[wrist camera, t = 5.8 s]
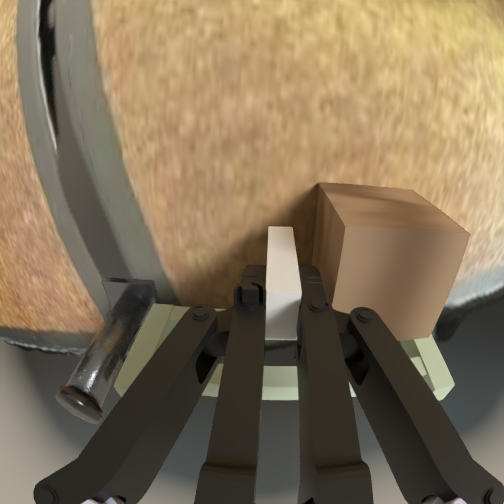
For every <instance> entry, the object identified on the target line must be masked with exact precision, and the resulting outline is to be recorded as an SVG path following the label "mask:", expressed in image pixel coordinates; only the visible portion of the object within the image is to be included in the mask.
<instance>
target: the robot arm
mask: <svg viewBox="0 0 504 504" xmlns="http://www.w3.org/2000/svg"><path fill="white" fill-rule="evenodd" d="M296 334H297V344H296V351H295V357H294V358H295V359H297V377H298V400H299V435H300V486H299V491H298V504H374V503H373V493H372V483H371V474H370V470H369V467H368V465H367V464H366V463H365V462H363V461H362V459H361V455H360V447H359V440H358V433H357V427H356V420H355V414H354V408H353V402H352V396H351V391H350V385H349V382H350V384H351V386H352V388H353V390H354V392H355V394H356V397H357V399H358V400H359V403H360V405H361V407H362V409H363V411H364V413H365V415H366V417H367V419H368V421H369V423H370V425H371V427H372V430H373V432H374V434H375V436H376V438H377V440H378V442H379V444H380V447H381V448H382V451H383V453H384V455H385V457H386V460H387V462H388V464H389V466H390V468H391V471H392V473H393V475H394V477H395V479H396V482H397V484H398V486H399V488H400V490H401V492H402V494H403V496H404V498H405V500H406V501H407V502H408V504H503V502H504V486H503V484H502V483H501V482H500V481H498V480H497V479H496V478H495V477H494V476H492V475H491V474H490V473H489V472H487V471H486V470H485V469H484V468H483V467H482V466H480V465H479V464H478V463H477V462H475V461H474V460H473V459H472V457H471V456H470V454H469V452H468V450H467V449H466V447H465V445H464V443H463V441H462V439H461V438H460V436H459V434H458V433H457V431H456V429H455V427H454V426H453V424H452V422H451V421H450V419H449V418H448V416H447V414H446V413H445V411H444V409H443V408H442V406H441V405H440V403H439V402H438V400H437V398H436V397H435V395H434V394H433V392H432V390H431V389H430V387H429V386H428V384H427V383H426V381H425V380H424V378H423V377H422V375H421V374H420V372H419V371H418V369H417V368H416V367H415V365H414V364H413V362H412V361H411V359H410V358H409V356H408V355H407V354H406V352H405V351H404V349H403V348H402V346H401V345H400V344H399V342H398V341H397V339H396V338H395V337H394V335H393V334H392V333H391V331H390V330H389V328H388V327H387V326H386V324H385V323H384V322H383V320H382V319H381V318H380V316H379V315H378V314H377V313H376V312H375V311H374V310H372V309H370V308H367V307H357V308H354V309H353V310H352V311H351V312H350V314H348V313H344V312H340V311H337V310H335V309H333V307H332V305H331V303H330V302H329V301H327V300H326V296H325V291H324V287H323V283H322V279H321V275H320V271H319V270H318V269H317V268H316V267H315V266H304V265H298V261H297V254H296V248H295V241H294V234H293V228H292V227H275V226H268V250H267V265H247V267H246V268H245V269H244V270H243V274H242V279H241V282H240V283H238V284H237V285H236V286H235V287H234V306H233V307H231V308H229V309H226V310H222V311H216V310H215V309H214V308H213V307H212V306H209V305H204V304H200V305H195V306H193V307H190V308H189V309H188V310H187V311H186V312H185V314H184V315H183V316H182V318H181V319H180V320H179V321H178V323H177V324H176V325H175V327H174V328H173V329H172V331H171V332H170V333H169V335H168V336H167V337H166V339H165V340H164V341H163V342H162V344H161V345H160V346H159V348H158V349H157V350H156V352H155V353H154V354H153V356H152V357H151V358H150V360H149V361H148V362H147V364H146V365H145V366H144V368H143V369H142V370H141V372H140V373H139V374H138V376H137V377H136V378H135V380H134V381H133V382H132V384H131V385H130V386H129V388H128V389H127V391H126V392H125V393H124V395H123V396H122V397H121V399H120V400H119V401H118V403H117V404H116V406H115V407H114V408H113V410H112V411H111V412H110V414H109V415H108V416H107V418H106V419H105V420H104V422H103V423H102V425H101V426H100V427H99V429H98V430H97V432H96V433H95V434H94V436H93V437H92V438H91V440H90V441H89V443H88V444H87V445H86V447H85V448H84V450H83V451H82V452H81V454H80V455H79V457H78V458H77V459H75V460H74V461H72V462H71V463H69V464H67V465H66V466H65V467H63V468H61V469H59V470H58V471H56V472H55V473H53V474H51V475H50V476H48V477H46V478H45V479H43V480H41V481H40V482H39V483H38V484H37V485H35V488H34V492H33V493H34V500H35V503H36V504H137V503H138V502H139V501H140V500H141V499H142V497H143V496H144V494H145V493H146V492H147V490H148V489H149V487H150V485H151V484H152V482H153V480H154V479H155V477H156V475H157V473H158V472H159V470H160V468H161V467H162V465H163V463H164V461H165V460H166V458H167V456H168V454H169V453H170V451H171V449H172V447H173V446H174V444H175V442H176V440H177V439H178V437H179V435H180V433H181V431H182V429H183V428H184V426H185V424H186V422H187V421H188V419H189V417H190V415H191V414H192V412H193V410H194V408H195V406H196V404H197V403H198V401H199V399H200V397H201V395H202V393H203V392H204V390H205V388H206V386H207V384H208V382H209V381H210V379H211V377H212V375H213V373H214V371H215V369H216V368H217V366H218V364H219V362H220V360H221V357H222V356H225V359H224V364H223V369H222V375H221V380H220V386H219V391H218V397H217V402H216V409H215V414H214V419H213V425H212V431H211V436H210V442H209V448H208V453H207V458H206V461H205V463H204V464H203V465H202V468H201V470H200V474H199V479H198V484H197V490H196V496H195V501H194V504H255V495H256V480H257V467H258V454H259V439H260V424H261V408H262V391H263V373H264V354H265V339H296Z"/></svg>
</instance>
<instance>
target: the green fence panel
mask: <svg viewBox="0 0 504 504" xmlns="http://www.w3.org/2000/svg"><path fill="white" fill-rule="evenodd" d="M189 308H190V307H181V306H174V305H167V304H155V303H154V304H153V306H152V308H151V310H150V311H149V313H148V315H147V317H146V319H145V321H144V323H143V325H142V327H141V329H140V331H139V333H138V335H137V337H136V339H135V341H134V343H133V345H132V347H131V349H130V351H129V353H128V355H127V358H126V360H125V362H124V364H123V366H122V368H121V370H120V373H119V375H118V377H117V379H116V381H115V383H114V388H115V389H116V391H117V392H118V394H119V395H120V397H122V396H123V395H124V393H125V392H126V391H127V389H128V388H129V386H130V385H131V384H132V382H133V381H134V380H135V378H136V377H137V376H138V374H139V373H140V372H141V370H142V369H143V368H144V366H145V365H146V364H147V362H148V361H149V360H150V358H151V357H152V356H153V354H154V353H155V352H156V350H157V349H158V348H159V346H160V345H161V344H162V342H163V341H164V340H165V339H166V337H167V336H168V335H169V333H170V332H171V331H172V329H173V328H174V327H175V325H176V324H177V323H178V321H179V320H180V319H181V318H182V316H183V315H184V314H185V312H186V311H187V310H188V309H189ZM215 310H216V311H222V310H226V309H215ZM265 340H297V334H296V339H265ZM400 342H401V345H402V347H403V349H404V351H405V352H406V354H407V355H408V356H409V358H410V359H411V361H412V362H413V364H414V365H415V367H416V368H417V369H418V371H419V372H420V374H421V375H422V377H423V378H424V380H425V381H426V383H427V384H428V386H429V387H430V389H431V390H432V392H433V394H434V395H435V397H436V398H437V400H442V399H443V398H444V397H445V396H446V395H447V394H448V392H449V391H450V390H451V389H452V388H453V386H454V385H455V384H454V382H453V380H452V377H451V375H450V373H449V371H448V368H447V366H446V364H445V362H444V359H443V357H442V355H441V353H440V351H439V349H438V347H437V345H436V343H435V341H434V339H433V337H432V335H431V334H430V336H429V338H421V339H413V340H404V341H400ZM222 369H223V364H218V366H217V368H216V369H215V371H214V373H213V375H212V377H211V379H210V381H209V382H208V384H207V386H206V388H205V390H204V392H203V393H202V395H205V396H214V397H218V391H219V386H220V380H221V375H222ZM349 385H350V391H351V396H352V397H354V396H356V394H355V392H354V390H353V388H352V386H351V384H350V382H349ZM262 400H298V377H297V366H264V373H263V391H262Z"/></svg>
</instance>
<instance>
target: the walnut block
mask: <svg viewBox="0 0 504 504" xmlns="http://www.w3.org/2000/svg"><path fill="white" fill-rule="evenodd" d="M469 237H470V233H468V232H467V231H466V230H465V229H464V228H462V227H461V226H460V225H459V224H457V223H456V222H455V221H454V220H452V219H451V218H450V217H449V216H447V215H446V214H445V213H444V212H442V211H441V210H440V209H438V208H437V207H436V206H434V205H433V204H432V203H430V202H429V201H427V200H426V199H425V198H423V197H422V196H420V195H419V194H417V193H416V192H415V191H413V190H404V189H395V188H386V187H376V186H364V185H352V184H337V183H320V182H319V184H318V199H317V212H316V223H315V234H314V245H313V254H312V263H311V266H315V267H316V268H317V269H318V270H319V271H320V275H321V279H322V283H323V287H324V291H325V296H326V300H327V301H329V302H330V303H331V305H332V307H333V309H335V310H337V311H340V312H344V313H348V314H350V312H351V311H352V310H353V309H354V308H357V307H367V308H370V309H372V310H374V311H375V312H376V313H377V314H378V315H379V316H380V318H381V319H382V320H383V322H384V323H385V324H386V326H387V327H388V328H389V330H390V331H391V333H392V334H393V335H394V337H395V338H396V339H397V341H404V340H413V339H421V338H429V336H430V334H431V332H432V330H433V328H434V326H435V324H436V322H437V320H438V318H439V316H440V314H441V311H442V309H443V307H444V305H445V303H446V300H447V298H448V296H449V293H450V291H451V288H452V286H453V283H454V281H455V278H456V276H457V273H458V270H459V267H460V265H461V262H462V259H463V256H464V253H465V250H466V247H467V244H468V240H469Z"/></svg>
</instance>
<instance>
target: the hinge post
mask: <svg viewBox="0 0 504 504" xmlns="http://www.w3.org/2000/svg"><path fill="white" fill-rule="evenodd" d="M102 283H103V286H104V288H105V291H106V294H107V297H108V299H109V302H110V305H111V307H112V310H111V311H110V313H109V314H108V316H107V317H106V319H105V320H104V322H103V324H102V325H101V327H100V328H99V330H98V331H97V333H96V335H95V336H94V338H93V340H92V341H91V343H90V344H89V346H88V348H87V349H86V351H85V353H84V355H83V356H82V358H81V360H80V361H79V363H78V365H77V367H76V369H75V370H74V372H73V374H72V376H71V378H70V379H69V381H68V383H67V385H66V386H61V387H60V388H59V390H58V392H57V394H56V396H55V397H56V400H57V401H58V402H59V403H60V404H61V405H62V406H63V407H64V408H65V409H66V410H67V411H69V412H70V413H72V414H73V415H75V416H77V417H78V418H80V419H82V420H84V421H86V422H89V423H92V424H99V423H100V421H101V418H102V416H103V411H102V409H101V407H102V404H103V402H104V400H105V397H106V395H107V393H108V391H109V389H110V386H111V384H112V382H113V380H114V378H115V375H116V373H117V371H118V369H119V367H120V365H121V363H122V361H123V359H124V357H125V355H126V353H127V350H128V348H129V346H130V344H131V342H132V340H133V338H134V336H135V334H136V332H137V331H138V329H139V327H142V325H143V323H144V321H145V319H146V317H147V315H148V313H149V311H150V310H151V308H152V306H153V304H154V303H155V304H160V303H159V299H158V296H157V292H156V288H155V284H154V281H152V280H136V279H120V278H107V277H105V278H104V279H103V281H102Z"/></svg>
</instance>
